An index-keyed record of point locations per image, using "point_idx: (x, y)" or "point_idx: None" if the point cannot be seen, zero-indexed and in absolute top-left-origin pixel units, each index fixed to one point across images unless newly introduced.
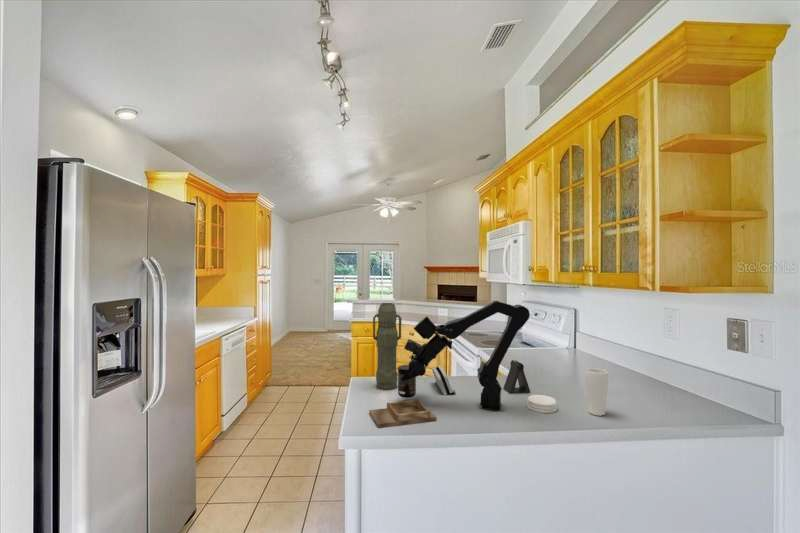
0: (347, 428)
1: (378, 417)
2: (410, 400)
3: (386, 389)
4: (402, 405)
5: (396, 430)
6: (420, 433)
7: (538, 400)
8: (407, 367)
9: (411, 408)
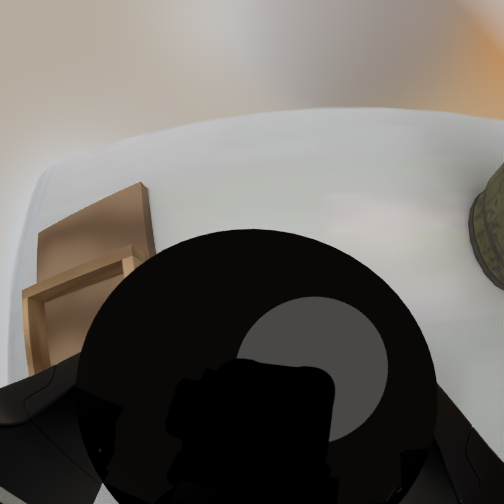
0: (69, 157)
1: (73, 228)
2: None
3: (472, 238)
4: None
5: None
6: (11, 365)
7: None
8: (212, 436)
9: None
